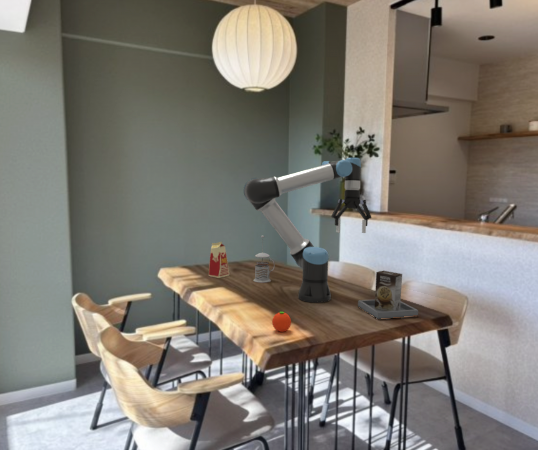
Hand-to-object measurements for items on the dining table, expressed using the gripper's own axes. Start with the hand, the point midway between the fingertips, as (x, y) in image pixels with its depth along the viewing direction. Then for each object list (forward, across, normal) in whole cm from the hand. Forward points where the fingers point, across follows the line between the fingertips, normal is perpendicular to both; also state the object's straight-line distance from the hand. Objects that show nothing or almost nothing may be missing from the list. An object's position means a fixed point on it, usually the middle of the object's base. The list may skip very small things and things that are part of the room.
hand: (350, 232), depth 214 cm
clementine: (+34, +46, +48) cm, 75 cm away
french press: (+29, +37, -31) cm, 56 cm away
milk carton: (+28, +60, -47) cm, 81 cm away
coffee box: (+31, -3, +33) cm, 46 cm away
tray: (+32, -3, +33) cm, 46 cm away
